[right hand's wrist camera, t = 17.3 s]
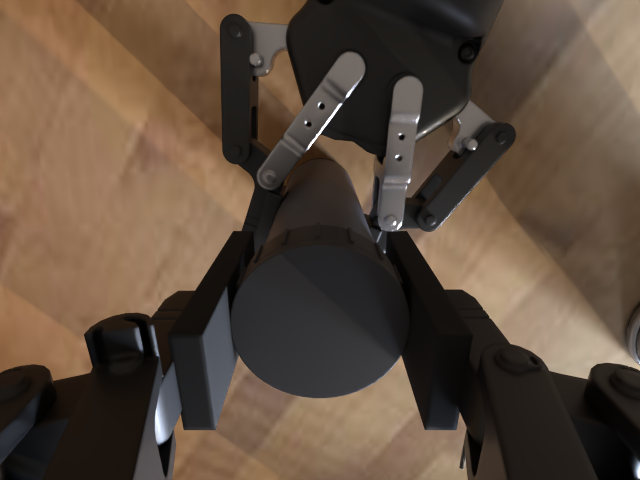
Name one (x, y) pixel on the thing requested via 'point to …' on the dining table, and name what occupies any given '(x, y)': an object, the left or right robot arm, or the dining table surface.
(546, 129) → the dining table surface
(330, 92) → the left robot arm
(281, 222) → the bottle
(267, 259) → the lid
